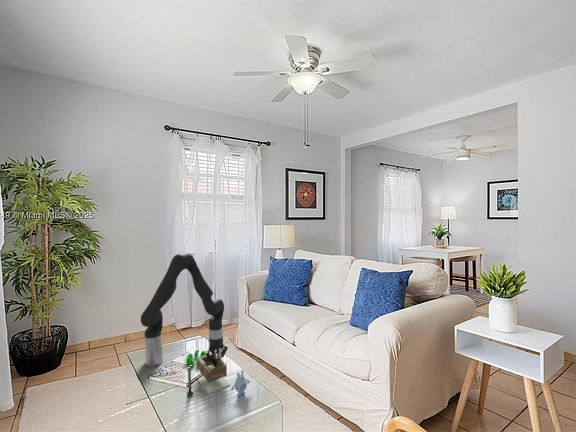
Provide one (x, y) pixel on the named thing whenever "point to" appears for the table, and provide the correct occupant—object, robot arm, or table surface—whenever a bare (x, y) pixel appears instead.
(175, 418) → the table surface
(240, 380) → the toy figure
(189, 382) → the post stand
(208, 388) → the mat
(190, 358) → the green lumpy cluster
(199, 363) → the brown wooden open box
